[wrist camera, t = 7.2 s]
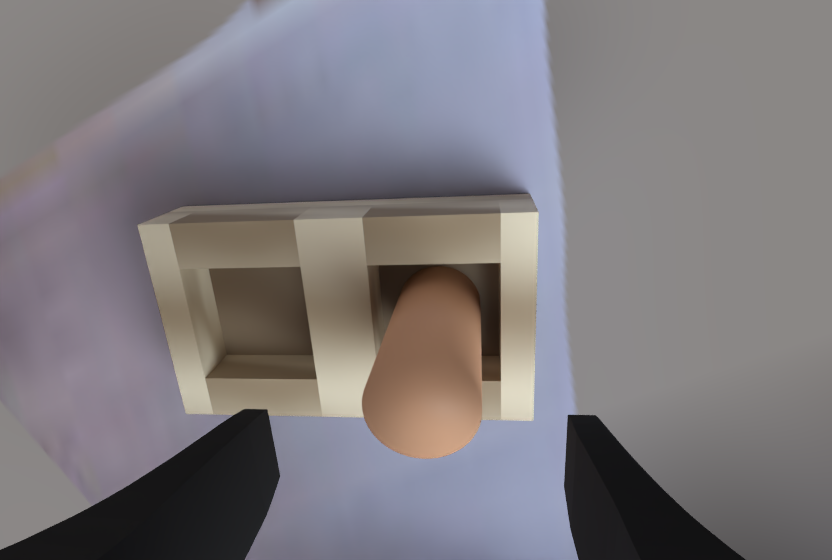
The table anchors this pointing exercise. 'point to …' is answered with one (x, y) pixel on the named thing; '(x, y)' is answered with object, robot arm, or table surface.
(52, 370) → the table surface
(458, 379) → the dowel
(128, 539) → the robot arm
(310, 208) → the bore block
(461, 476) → the table surface
